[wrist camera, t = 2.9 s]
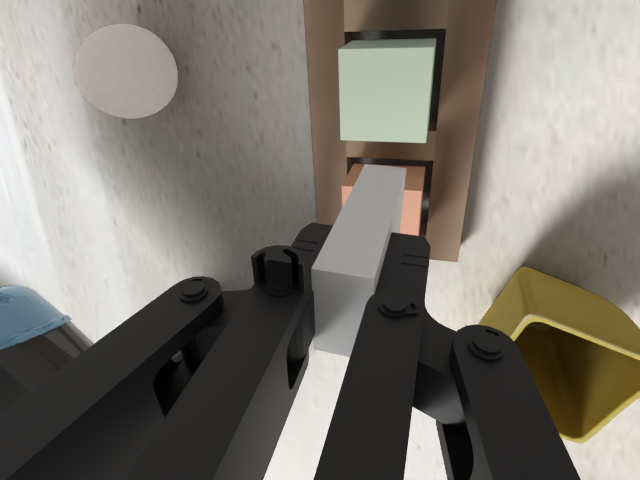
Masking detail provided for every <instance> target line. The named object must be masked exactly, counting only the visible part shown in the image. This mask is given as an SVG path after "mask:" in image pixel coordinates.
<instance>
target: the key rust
mask: <svg viewBox="0 0 640 480" xmlns="http://www.w3.org/2000/svg"><path fill="white" fill-rule="evenodd" d="M364 165H365V164H356V163H354V164H353V166H352V168H351V170H350V171H349V173H348V175H347V177H346V179H345V181H344V183H343V185H342V208H343V206H344V204H345V202H346V200H347V198H348V196H349V194H350V192H351V190H352V188H353V186H354V184H355V182H356V181H357V179H358V177H359V175H360V173H361V171H362V169H363V167H364ZM369 165H377V164H369ZM379 166H390V167H400V168H406V177H405V187H404V197H403V206H402V216H401V225H400V233H402V234H409V235H417V236H419V232H420V222H421V210H422V199H423V187H424V176H425V167H418V166H397V165H379Z"/></svg>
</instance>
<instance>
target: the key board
mask: <svg viewBox="0 0 640 480" xmlns="http://www.w3.org/2000/svg"><path fill="white" fill-rule="evenodd" d="M496 1H497V0H303V4H304V20H305V36H306V52H307V68H308V84H309V100H310V116H311V132H312V148H313V164H314V180H315V196H316V212H317V223H319V224H326V225H334V223H335V222H336V220H337V218H338V216H339V214H340V212H341V210H342V185H343V183H344V181H345V179H346V177H347V175H348V173H349V171H350V170H351V168H352V157H360V158H382V159H404V160H427V161H433V170H432V180H431V191H430V201H429V211H428V222H427V224H423V223H420V232H419V236H424V237H425V238H426V239H427V241H428V243H429V245H430V246H431V250H430V258H429V259H432V260H442V261H451V262H458V256H459V249H460V242H461V235H462V229H463V222H464V215H465V209H466V202H467V195H468V188H469V182H470V175H471V168H472V162H473V155H474V148H475V141H476V135H477V128H478V121H479V115H480V108H481V101H482V94H483V88H484V81H485V74H486V68H487V61H488V54H489V48H490V41H491V34H492V27H493V21H494V14H495V7H496ZM419 29H446V36H445V46H444V57H443V67H442V77H441V87H440V98H439V108H438V118H437V123H429V127H428V133H427V140H426V143H408V142H379V141H350V140H340V100H339V61H338V49H340V48H341V47H343V46H344V45H346V44H348V43H349V42H351V32H356V31H387V30H419Z"/></svg>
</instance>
